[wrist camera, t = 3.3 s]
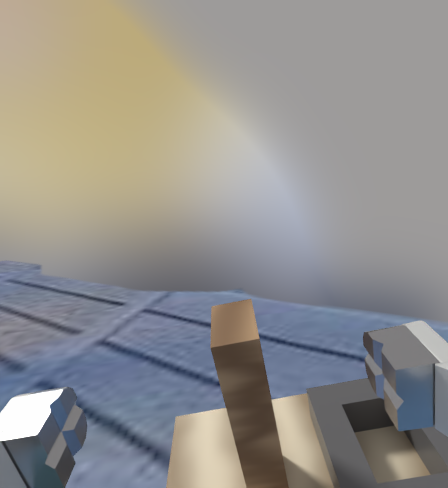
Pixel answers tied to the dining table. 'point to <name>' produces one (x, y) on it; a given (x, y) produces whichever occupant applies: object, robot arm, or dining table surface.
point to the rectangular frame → (361, 419)
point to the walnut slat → (247, 394)
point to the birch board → (292, 445)
